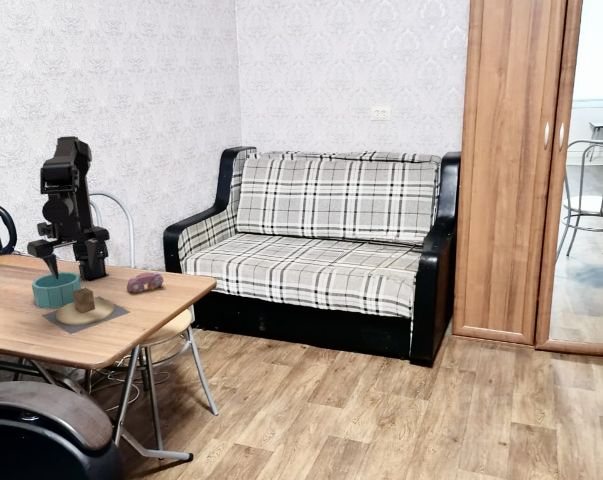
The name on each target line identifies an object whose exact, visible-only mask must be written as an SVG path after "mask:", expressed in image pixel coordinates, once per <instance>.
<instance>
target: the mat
mask: <svg viewBox="0 0 603 480" xmlns="http://www.w3.org/2000/svg"><path fill="white" fill-rule="evenodd" d="M93 298H94V299H105V298H104V297H101V296H97V297H93ZM113 304H114V308H115V311H114V313H113V314H112V315H111V316H109V317H108V318H106V319H104V320H102V321H99V322H96V323H93V324H88V325H81V326H68V325H63V324H61V323H59V322H58V321H57V319H56V312H57V311H58V310H59V309H57V310H54V311H51V312H48V313H44V314H42V315H41V317H43V318H45V319H46V320H47V321H49V322H51V323H52V324H54V325H56V326H58V327H59V328H60V329H62V330H64V331H65V332H67V333H69V335H72V334H74V333H77V332H78V333H79V332H80V331H83V330H86V329H88V328H92V327H94V326H97V325H100V324H102V323H105V322H108V321H110V320H112V319H113V320H114V319H116V318H118V317H122V316H124V315H127V314H129V313H130V314H131V311H129V310H127V309H126V308H123V307H121V306H120V305H118V304H116V303H114V302H113Z"/></svg>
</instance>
